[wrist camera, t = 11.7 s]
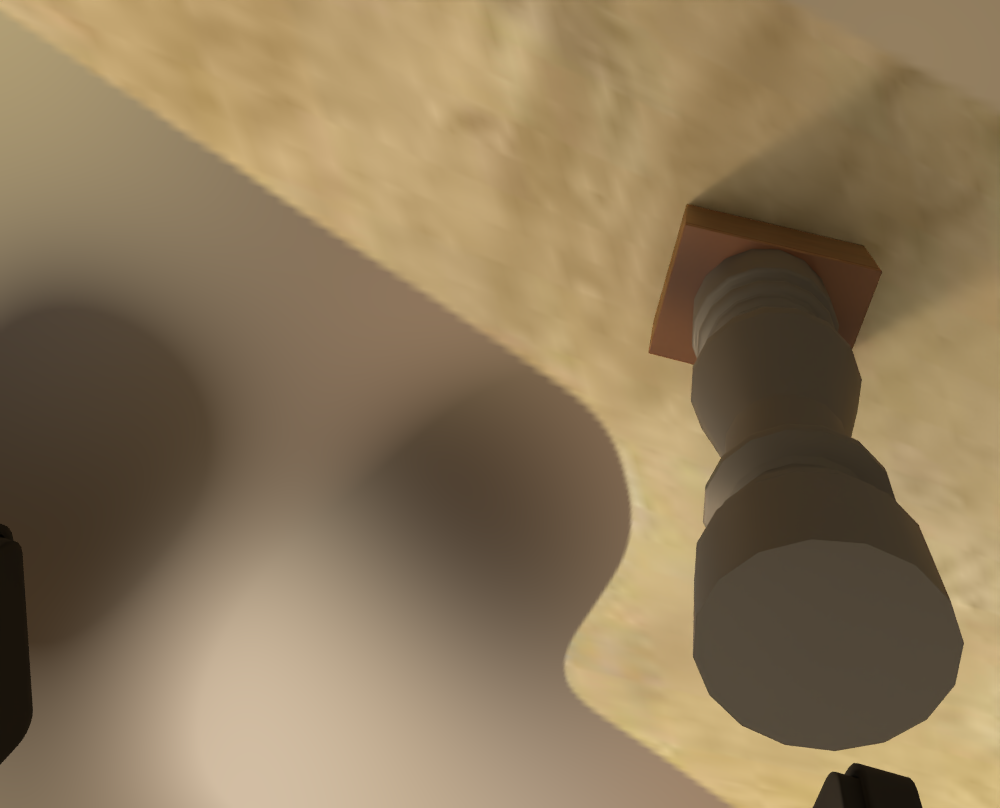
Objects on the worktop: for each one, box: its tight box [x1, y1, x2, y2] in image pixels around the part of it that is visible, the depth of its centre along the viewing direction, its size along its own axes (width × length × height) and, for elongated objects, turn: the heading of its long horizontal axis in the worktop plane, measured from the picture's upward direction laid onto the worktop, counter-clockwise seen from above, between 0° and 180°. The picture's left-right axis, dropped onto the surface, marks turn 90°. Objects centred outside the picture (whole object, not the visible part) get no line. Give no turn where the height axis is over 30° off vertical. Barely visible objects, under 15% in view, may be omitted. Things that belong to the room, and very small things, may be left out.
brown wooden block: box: [649, 204, 882, 365], centre depth 45 cm, size 6×9×5 cm
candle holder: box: [691, 249, 964, 751], centre depth 31 cm, size 6×6×25 cm
